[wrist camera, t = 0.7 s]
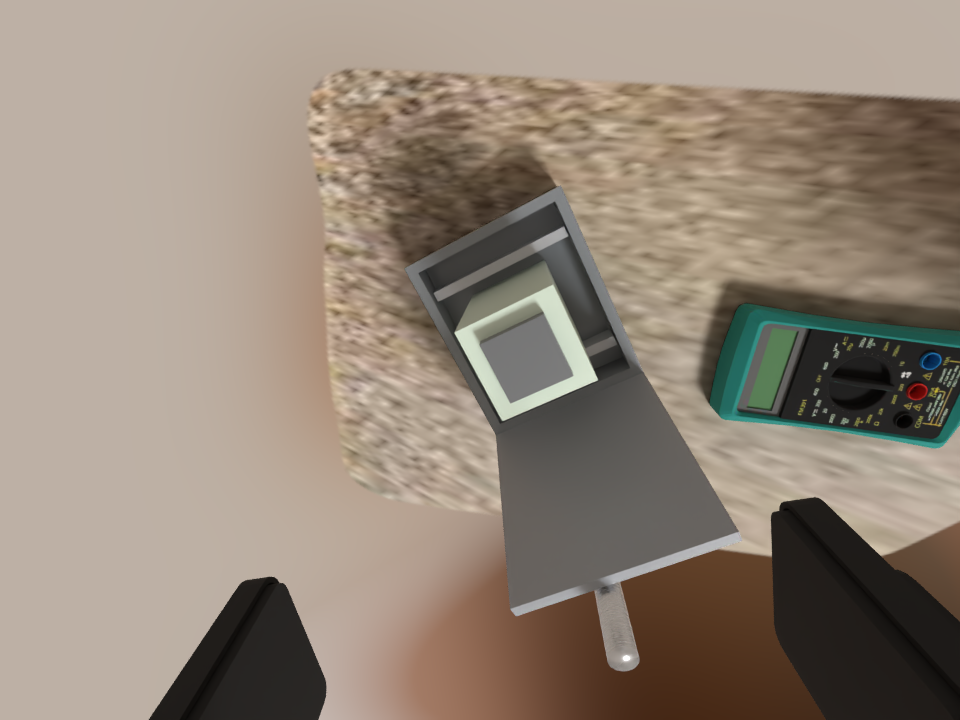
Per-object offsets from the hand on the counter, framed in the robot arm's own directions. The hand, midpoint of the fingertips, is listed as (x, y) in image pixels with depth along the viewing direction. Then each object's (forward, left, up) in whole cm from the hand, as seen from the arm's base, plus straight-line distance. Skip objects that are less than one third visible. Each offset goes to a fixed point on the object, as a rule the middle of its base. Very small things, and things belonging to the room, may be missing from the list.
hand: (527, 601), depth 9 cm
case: (0, 0, -24) cm, 24 cm away
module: (0, 0, -23) cm, 23 cm away
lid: (0, +7, -15) cm, 17 cm away
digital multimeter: (-16, +12, -25) cm, 32 cm away
